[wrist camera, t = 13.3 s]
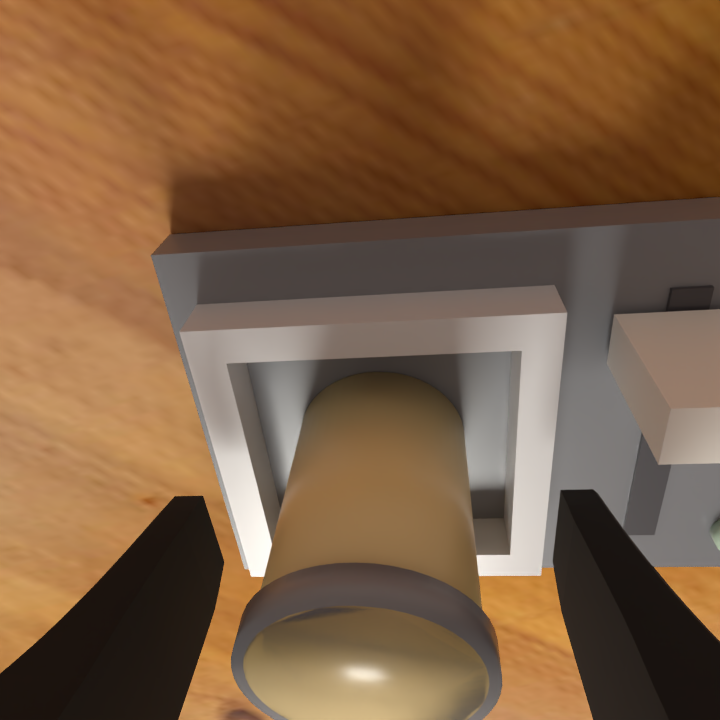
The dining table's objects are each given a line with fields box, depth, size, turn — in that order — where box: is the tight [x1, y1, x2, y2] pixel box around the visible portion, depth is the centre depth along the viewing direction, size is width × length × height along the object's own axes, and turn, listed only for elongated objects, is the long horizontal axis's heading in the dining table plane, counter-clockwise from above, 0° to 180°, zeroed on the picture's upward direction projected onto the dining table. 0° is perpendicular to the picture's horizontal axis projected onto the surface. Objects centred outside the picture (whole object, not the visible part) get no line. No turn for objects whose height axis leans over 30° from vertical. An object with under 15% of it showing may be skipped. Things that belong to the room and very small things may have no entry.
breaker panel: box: [151, 197, 720, 577], centre depth 14 cm, size 14×10×2 cm
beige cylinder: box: [231, 372, 502, 720], centre depth 12 cm, size 4×4×6 cm
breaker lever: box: [607, 309, 720, 465], centre depth 11 cm, size 3×1×3 cm, turn 96°
